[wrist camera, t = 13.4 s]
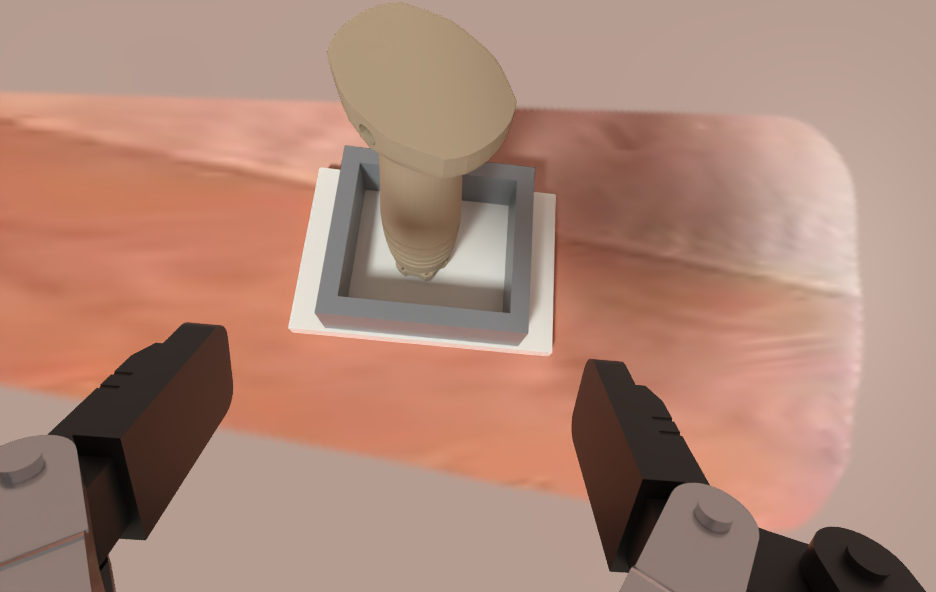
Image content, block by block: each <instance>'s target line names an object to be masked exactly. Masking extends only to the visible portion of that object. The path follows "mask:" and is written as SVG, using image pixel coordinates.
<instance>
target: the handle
mask: <svg viewBox="0 0 936 592" xmlns="http://www.w3.org/2000/svg"><path fill="white" fill-rule="evenodd" d="M327 55H328V59H329V64H330V68H331V72H332V75H333V78H334V82H335V85H336V88H337V91H338V94H339V97H340V99H341V102H342V105H343V107H344V110H345V112H346V114H347V116H348V119H349V121H350V122H351V123H352V125H353V126H354V127H355V129H356V130H357V132H358V133H359V134H360V136H361V137H362V139H363V140H364V141H365V142H366V143H367V145H368V146H369V147H370V148H371V149H373V150H374V151H375V152H377V153H378V154H379V172H380V214H381V221H382V226H383V231H384V235H385V238H386V242H387V245H388V247H389V250H390V252H391V254H392V256H393V257H394V259H395V261H396V263H395V264H396V267H397V269H398V270H399V272H400V273H401V274H402V275H404V276H408V275H412V276H417V277H419V278H421V279H423V280H424V281H428V280H431V279H432V278H433V276H434V274H435V273H436V272H437V271H438V270H440V269H442V268H445V266H446V265H447V263H448V260H449V257H450V254H451V252H452V250H453V247H454V245H455V242H456V239H457V235H458V231H459V225H460V219H461V201H462V175H465V174H467V173H469V172H471V171H473V170H475V169H477V168H478V167H480V166H481V165H483V164H484V163H485V162H487V161H488V160H489V159H490V158H491V157H492V156H493V155H494V154H495V153H496V152H497V151H498V150H499V148H500V147H501V145H502V144H503V142H504V141H505V139H506V137H507V134H508V131H509V129H510V126H511V122H512V119H513V115H514V111H515V107H516V99H515V96H514V94H513V92H512V89H511V87H510V85H509V83H508V80H507V78H506V76H505V74H504V72H503V70H502V68H501V66H500V65H499V63H498V62H497V60H496V58H495V57H494V56H493V55H492V54H491V53H490V52H489V51H488V50H487V49H486V48H485V47H484V46H483V45H482V44H481V43H479V42H478V41H477V40H476V39H475V38H474V37H472V36H471V35H470V34H469V33H468V32H467V31H465V30H464V29H463V28H461V27H460V26H459V25H457V24H456V23H454V22H453V21H451V20H449V19H447V18H444V17H442V16H440V15H438V14H435V13H432V12H429V11H427V10H424V9H421V8H418V7H415V6H412V5H409V4H406V3H403V2H398V3H389V4H383V5H378V6H376V7H373V8H370V9H368V10H366V11H364V12H362V13H360V14H359V15H357V16H355V17H353V18H352V19H351V20H349V21H348V22H347V23H345V24H344V25H343V26H342V27H341V28H340V29H339V30H338V32H337V33H336V34H335V35H334V37H333V39H332V41H331V42H330V45H329V47H328V50H327Z"/></svg>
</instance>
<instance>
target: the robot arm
mask: <svg viewBox="0 0 936 592" xmlns="http://www.w3.org/2000/svg"><path fill="white" fill-rule="evenodd" d="M232 395H233V379H232V370H231V361H230V353H229V344H228V336H227V331H226V329H225V328H224V327H223V326H221V325H211V324H199V323H188V322H187V323H184V324H182V325H181V326H180V327H179V328H178V329H177V330H176V331H175V332H174V333H173V334H172V335H171V336H170V337H169V338H168V339H167V340H166V341H165V342H164V343H155V344H153V345H151V346H149V347H147V348H145V349H143V350H141V351H139V352H137V353H135V354H133V355H131V356H130V357H129V358H128V359H127V360H126V361H125V362H124V363H123V364H122V365H121V366H120V367H119V368H118V369H116V370H115V373H114V375H110V376H109V377H108V378H107V379H106V380H105V381H104V382H103V383H102V384H101V386H100V388H96V389H95V390H94V391H93V392H92V393H91V394H90V395H89V396H88V397H87V398H86V399H85V400H84V401H83V402H82V403H80V404H79V405H78V406H77V407H76V408H75V409H74V410H73V411H72V412H71V413H70V414H69V415H68V416H67V417H66V418H65V419H64V420H62V421H61V422H60V423H59V424H58V425H57V426H56V427H55V428H54V429H53V430H52V431H51V432H50V433H49V434H48V435H39V436H31V437H27V438H22V439H18V440H15V441H12V442H9V443H7V444H4V445H2V446H0V592H116V588H115V584H114V578H113V571H112V566H111V561H110V558H109V555H108V554H109V552H110V551H111V550H112V548H113V547H114V545H115V544H116V542H117V541H118V540H119V539H133V540H146V539H147V538H148V536H149V534H150V533H151V531H152V530H153V528H154V527H155V525H156V523H157V522H158V520H159V519H160V517H161V515H162V514H163V512H164V511H165V509H166V508H167V506H168V504H169V503H170V501H171V500H172V498H173V496H174V495H175V493H176V492H177V490H178V489H179V487H180V485H181V484H182V482H183V481H184V479H185V478H186V476H187V475H188V473H189V471H190V470H191V468H192V467H193V465H194V463H195V462H196V460H197V459H198V457H199V456H200V454H201V453H202V451H203V449H204V448H205V446H206V445H207V443H208V442H209V440H210V438H211V437H212V435H213V434H214V432H215V431H216V429H217V427H218V426H219V424H220V423H221V421H222V420H223V418H224V416H225V415H226V413H227V411H228V409H229V407H230V404H231V400H232ZM572 438H573V443H574V446H575V450H576V454H577V457H578V461H579V464H580V468H581V471H582V475H583V478H584V482H585V486H586V489H587V493H588V496H589V500H590V503H591V507H592V510H593V514H594V518H595V521H596V524H597V528H598V532H599V535H600V539H601V542H602V546H603V550H604V553H605V556H606V560H607V564H608V567H609V571H611V572H627V573H628V575H627V577H626V579H625V581H624V583H623V585H622V587H621V589H620V591H619V592H926V591H925V590H924V589H923V587H922V586H921V585H920V583H918V581H917V580H916V579H915V577H914V576H913V575H912V573H910V571H909V570H908V569H907V567H906V566H905V565H904V564H903V563H902V562H901V561H900V560H899V559H898V558H897V557H896V556H895V555H893V554H892V553H891V552H890V551H888V550H887V549H886V548H884V547H883V546H881V545H880V544H879V543H877V542H875V541H874V540H872V539H870V538H868V537H866V536H864V535H862V534H860V533H857V532H855V531H852V530H849V529H845V528H840V527H825V528H822V529H820V530H819V531H817V532H816V534H815V536H814V537H813V539H812V541H811V542H810V544H806V543H803V542H800V541H797V540H794V539H791V538H788V537H785V536H782V535H778V534H775V533H772V532H769V531H766V530H764V529H761V528H759V527H758V526H757V523H756V521H755V520H754V518H753V516H752V515H751V514H750V512H749V511H748V510H747V509H746V508H745V507H744V506H743V505H742V504H741V503H740V502H739V501H738V500H736V499H735V498H733V497H732V496H731V495H729V494H727V493H726V492H724V491H722V490H720V489H717V488H715V487H712V486H710V485H709V483H708V481H707V479H706V478H705V476H704V474H703V472H702V470H701V469H700V467H699V465H698V463H697V462H696V460H695V458H694V456H693V454H692V453H691V451H690V449H689V447H688V446H687V444H686V442H685V440H684V438H683V437H682V436H680V431H679V430H678V428H677V426H676V424H675V422H672V417H671V415H670V414H669V412H668V410H667V408H666V406H665V405H664V403H663V401H662V400H661V399H659V398H658V397H657V396H656V395H655V394H654V393H653V392H652V391H651V390H649V389H648V388H647V387H646V386H642V385H635V383H634V381H633V379H632V377H631V375H630V373H629V371H628V369H627V367H626V365H625V364H624V363H623V362H619V361H608V360H597V359H589V360H588V361H587V363H586V365H585V368H584V372H583V376H582V380H581V384H580V388H579V391H578V395H577V399H576V403H575V407H574V411H573V416H572Z"/></svg>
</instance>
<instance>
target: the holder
mask: <svg viewBox="0 0 936 592" xmlns="http://www.w3.org/2000/svg"><path fill="white" fill-rule="evenodd" d="M534 177H535V167H526V166H518V165H509V164H500V163H492V162H485V163H484V164H483V165H481V166H480V167H478V168H477V169H475V170H473V171H471V172H469V173H467V174H465V175H462V201H461V219H460V225H459V231H458V235H457V239H456V242H455V245H454V247H453V250H452V252H451V254H450V257H449V260H448V263H447V265H446V266H445V268H442V269H440V270H438V271H437V272H436V273H435V274H434V276H433V278H432V279H431V280H428V281H424V280H423V279H421V278H419V277H417V276H412V275H408V276H404V275H402V274H401V273H400V272H399V270H398V269H397V267H396V264H395V263H396V261H395V259H394V257H393V256H392V254H391V252H390V250H389V247H388V245H387V242H386V238H385V235H384V231H383V226H382V221H381V214H380V172H379V154H378V153H377V152H375V151H374V150H373V149H371V148H363V147H355V146H346V145H345V147H344V152H343V158H342V163H341V169H340V170H338V169H329V168H321V167H320V169H319V174H318V179H317V184H316V189H315V194H314V199H313V204H312V209H311V215H310V220H309V225H308V230H307V235H306V240H305V245H304V250H303V255H302V260H301V265H300V271H299V276H298V281H297V286H296V291H295V296H294V301H293V306H292V311H291V316H290V322H289V327H288V328H289V329H290V330H291V331H292V332H294V333H305V334H315V335H326V336H337V337H347V338H358V339H368V340H379V341H390V342H400V343H411V344H421V345H432V346H443V347H453V348H464V349H474V350H485V351H496V352H506V353H517V354H527V355H538V356H549V355H550V354H551V353H552V334H553V291H554V248H555V205H556V194H549V193H540V192H534Z"/></svg>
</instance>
